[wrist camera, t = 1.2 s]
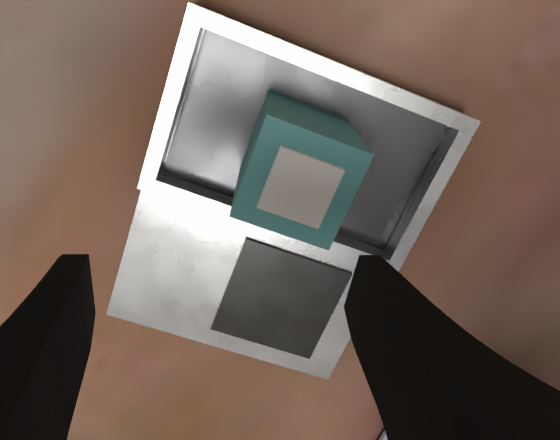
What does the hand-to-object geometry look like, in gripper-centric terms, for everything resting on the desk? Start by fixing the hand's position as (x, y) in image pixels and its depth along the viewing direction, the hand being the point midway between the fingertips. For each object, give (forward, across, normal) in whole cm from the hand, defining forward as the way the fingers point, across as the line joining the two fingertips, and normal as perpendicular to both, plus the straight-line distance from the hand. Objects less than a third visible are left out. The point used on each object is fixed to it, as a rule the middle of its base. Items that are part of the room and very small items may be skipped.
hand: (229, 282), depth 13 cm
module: (+10, -4, +1) cm, 11 cm away
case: (+11, -4, +1) cm, 12 cm away
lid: (+10, -2, +9) cm, 14 cm away
